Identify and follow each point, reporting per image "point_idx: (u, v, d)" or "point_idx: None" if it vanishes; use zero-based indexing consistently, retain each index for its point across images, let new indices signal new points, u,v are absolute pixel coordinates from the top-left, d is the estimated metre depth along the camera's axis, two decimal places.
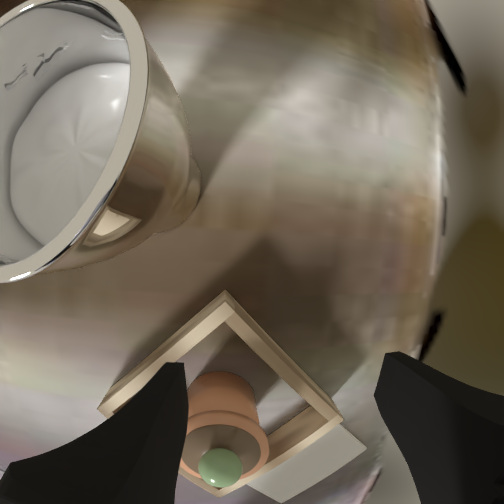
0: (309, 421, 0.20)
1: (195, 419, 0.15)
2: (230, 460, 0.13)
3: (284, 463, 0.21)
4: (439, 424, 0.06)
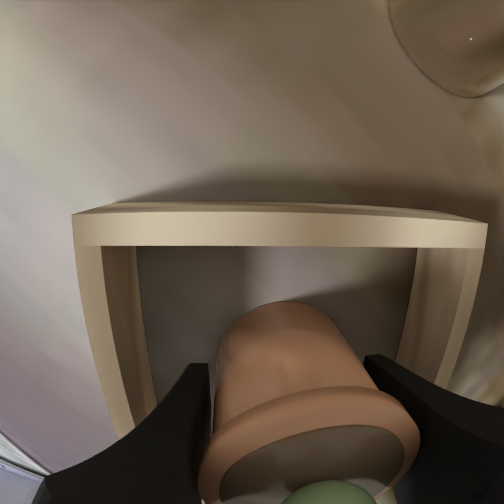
0: None
1: (368, 402, 0.05)
2: None
3: None
4: None
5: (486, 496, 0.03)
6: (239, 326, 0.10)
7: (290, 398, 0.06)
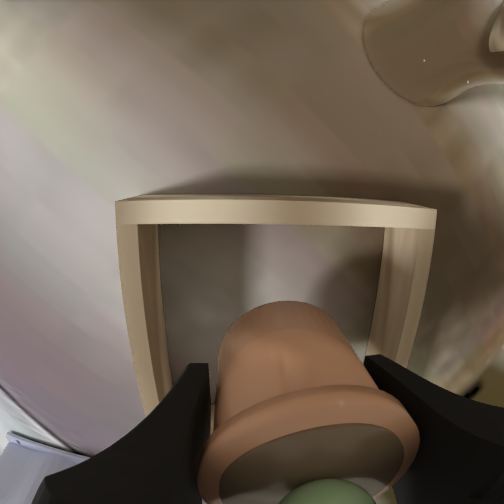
0: None
1: (367, 401, 0.05)
2: None
3: None
4: None
5: (486, 496, 0.03)
6: (241, 325, 0.10)
7: (289, 396, 0.06)
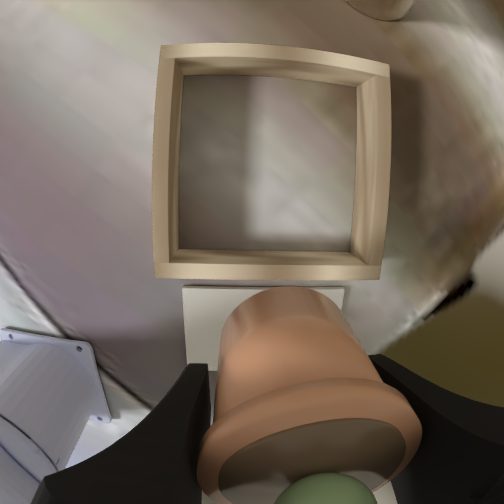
0: (338, 258, 0.17)
1: (370, 395, 0.05)
2: None
3: None
4: None
5: (486, 496, 0.03)
6: (242, 311, 0.10)
7: (290, 390, 0.06)
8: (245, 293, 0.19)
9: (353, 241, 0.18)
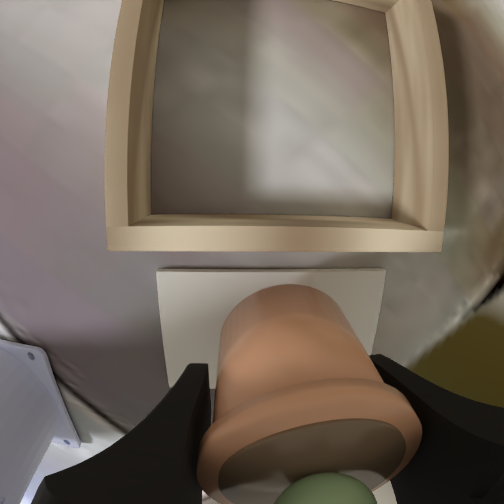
0: (382, 223, 0.11)
1: (370, 396, 0.05)
2: None
3: None
4: None
5: (486, 496, 0.03)
6: (242, 310, 0.10)
7: (290, 390, 0.06)
8: (248, 278, 0.13)
9: (398, 202, 0.12)
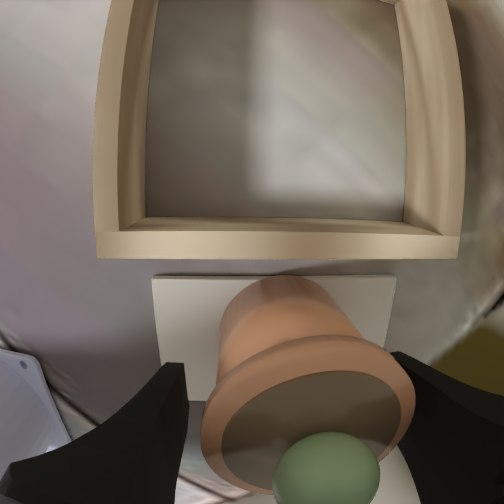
0: (395, 227, 0.10)
1: (361, 348, 0.06)
2: (379, 473, 0.05)
3: None
4: (439, 424, 0.06)
5: None
6: (241, 297, 0.11)
7: (287, 344, 0.06)
8: None
9: (410, 204, 0.11)
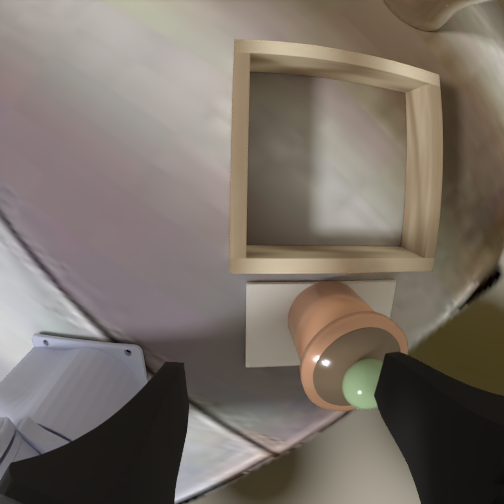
0: (395, 252, 0.17)
1: (380, 316, 0.13)
2: None
3: None
4: (439, 424, 0.06)
5: None
6: (305, 295, 0.18)
7: (346, 316, 0.13)
8: None
9: (405, 236, 0.18)
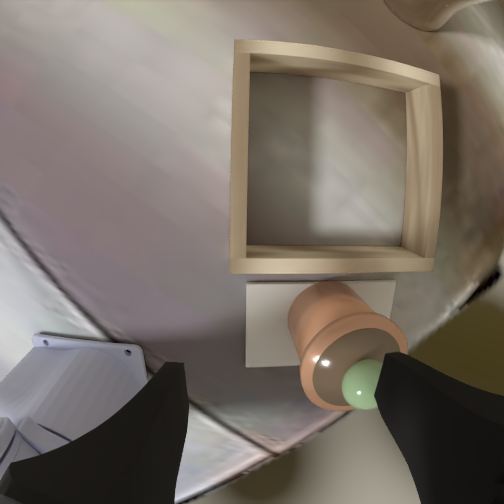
0: (395, 252, 0.17)
1: (380, 317, 0.13)
2: None
3: None
4: (439, 424, 0.06)
5: None
6: (305, 295, 0.18)
7: (346, 316, 0.13)
8: None
9: (405, 236, 0.18)
